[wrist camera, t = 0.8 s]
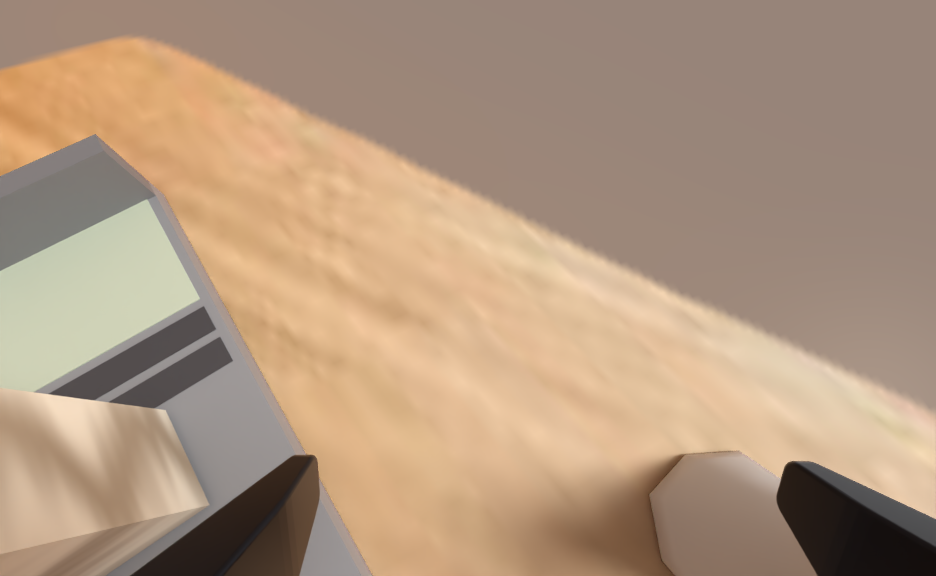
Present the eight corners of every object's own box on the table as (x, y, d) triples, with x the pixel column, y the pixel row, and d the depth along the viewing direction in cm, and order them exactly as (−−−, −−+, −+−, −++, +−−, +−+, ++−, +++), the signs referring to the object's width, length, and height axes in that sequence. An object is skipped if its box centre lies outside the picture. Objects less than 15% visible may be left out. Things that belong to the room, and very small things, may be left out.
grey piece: (386, 601, 20) (364, 655, 15) (18, 900, 16) (-184, 1112, 11) (163, 194, 27) (95, 134, 22) (-131, 340, 23) (-300, 308, 18)
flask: (699, 643, 20) (922, 817, 10) (622, 483, 22) (749, 507, 13) (824, 572, 21) (1125, 671, 12) (739, 427, 23) (934, 412, 14)
